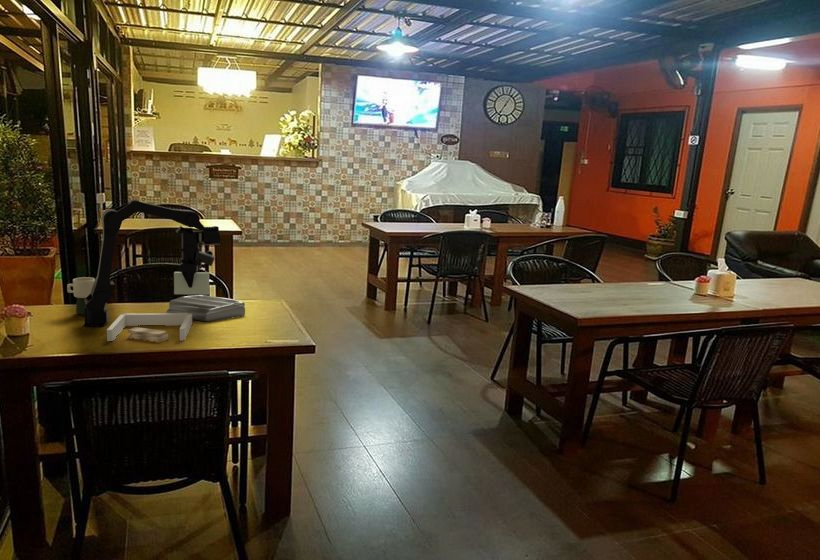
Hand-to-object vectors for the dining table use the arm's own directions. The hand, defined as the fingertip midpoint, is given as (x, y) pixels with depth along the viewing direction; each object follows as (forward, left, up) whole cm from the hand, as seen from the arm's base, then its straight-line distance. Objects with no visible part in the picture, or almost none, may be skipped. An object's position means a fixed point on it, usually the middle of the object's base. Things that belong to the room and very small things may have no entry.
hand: (190, 286), depth 216 cm
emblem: (+5, +5, -12) cm, 14 cm away
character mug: (-37, +4, -11) cm, 39 cm away
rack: (-10, -21, -11) cm, 26 cm away
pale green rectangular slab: (0, 0, -3) cm, 3 cm away
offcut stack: (-10, -27, -12) cm, 31 cm away
